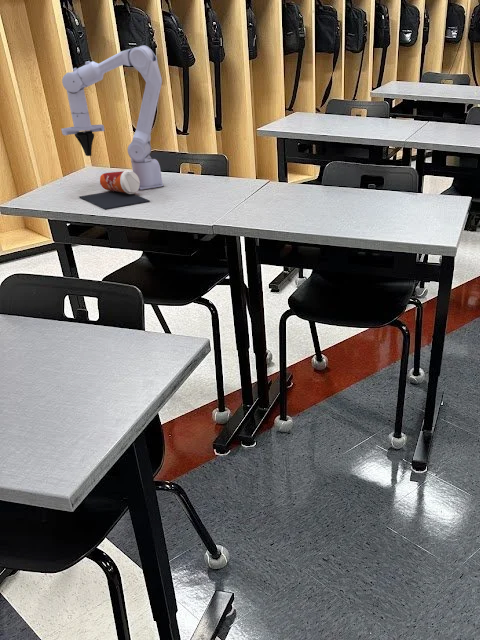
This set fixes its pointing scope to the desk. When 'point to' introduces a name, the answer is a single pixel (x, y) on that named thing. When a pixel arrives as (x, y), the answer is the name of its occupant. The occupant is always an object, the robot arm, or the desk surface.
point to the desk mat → (114, 199)
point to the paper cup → (120, 181)
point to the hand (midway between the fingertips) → (88, 155)
